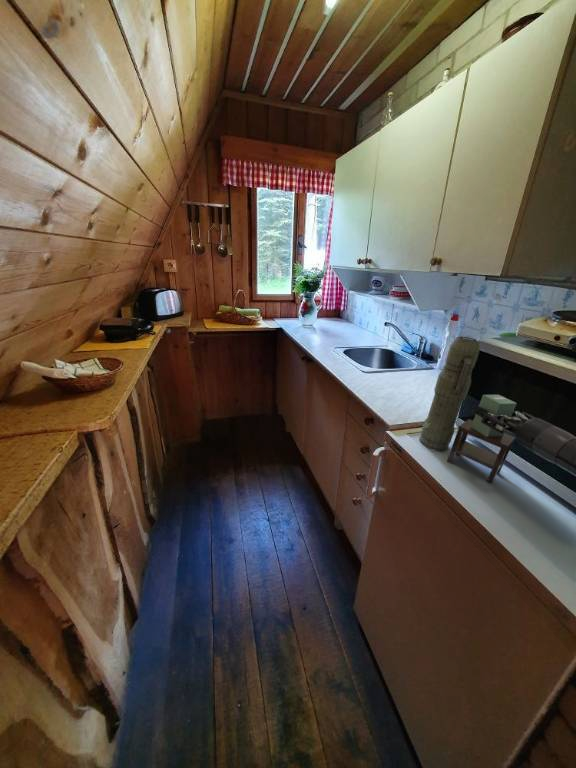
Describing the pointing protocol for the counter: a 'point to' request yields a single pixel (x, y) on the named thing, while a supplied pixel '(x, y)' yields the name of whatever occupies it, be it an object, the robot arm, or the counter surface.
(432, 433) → the stone statue
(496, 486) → the counter surface
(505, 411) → the pale green box
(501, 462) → the rack
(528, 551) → the counter surface
